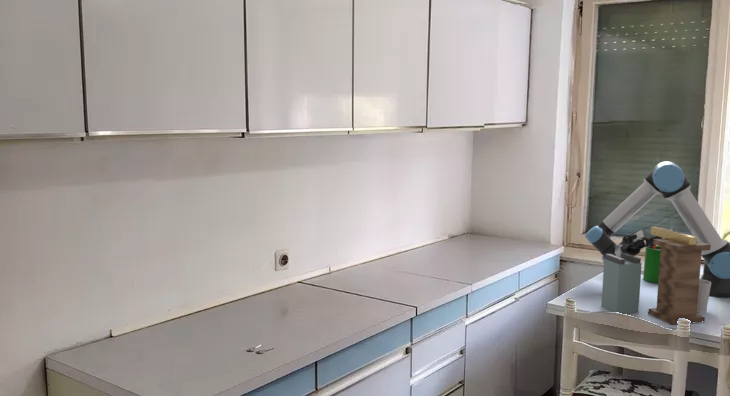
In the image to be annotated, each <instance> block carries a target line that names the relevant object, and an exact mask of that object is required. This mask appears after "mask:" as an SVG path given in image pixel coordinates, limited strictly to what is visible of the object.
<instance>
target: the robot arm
mask: <svg viewBox="0 0 730 396" xmlns="http://www.w3.org/2000/svg"><path fill="white" fill-rule="evenodd" d="M684 173H685V172H684V170H683V169H682V168H681V167H680V166H679V165H678V164H677V163H675V162H673V161H670V160H669V161H667V160H666V161H661V162H658V163H657V164H656V165H655V166H654V168H653V169H652V170H651V171H650V172H649V174H648V175H646V176H645V178H643V183H642V184H640V185H639V186H638V187H637V188H636V189H635V190H634V191H633V192H631V194H630V195H629V196H628V197H626V198H625V199H624V201H622V202H621V203H620V204H619V205H618V206H617V207H615V208H614V210H613V211H611V213H609V214H608V215H607V216H606V217H605V218H604V219H603V220H602V221H601V222H600V223H598V225H595V226H593V227H592V228H590V229H589V230H588V231H587V232H586V233H585V234H584V237H585V239H587V241H588V242H589V243H590V244H591V245H592V246H593V247H594V248H595V249H596V250H597V251H598V252H599V253H600V254H601V255H602V256H601V260H602V262H603V263H604V259H605V254H612V255H615V256H617V257H620V258H621V253H627V254H630V255H632V256H635V257H636V256H637V255H639V254H640V252H641V251H642V249H644V248H646V247H647V248H650V247H652V246H654V244H653V239H666V238H662V237H659V236H653V237H649V239H648V237H645V235H644V231H643V229H641V230H638V231H637V232H635V233H633V234H632V235H628V236H623V237H622V240H621V242H620V243H617V244H618V245H616V243H615V242H614V241H613V240H612V238H611V237H612V236H613V235H614V234H615V233H616V232H617V231H618V230H620V228H622V226H624V225H625V224H626V223H627V222H628V221H629V220H631V218H633V217H634V216H635V215H636V214H637V213H638V212H640V210H641V209H642V208H643V207H645V206H646V205H647V204H648V203H649V202H650V201H651V200H652V199H654V197H656V196H657V195H662V197H663V198H664V200H668V201H670V203H672V205H673V207H674V209H675V210H676V211H677V213H678V214H679V216H680V218H681V219H682V221H683V223H684V224H685V226H686V227H687V228H688V230H689V232H690V233H691V236H695V237H697V240H696V241H698V242H702V243H706V244H709V245H711V247H710V250H703V251H702V253H701V258H702V259H703V271H702V275H701V277H700V279H703V280H707V281H710V282H711V287H710V293H709V296H712V297H719V298H730V241H728V240H727V239H723V238H721V236H720V234H719V233H718V231H717V230H716V228H715V227H714V225H713V223H712V222H711V220H710V219H709V218H708V216H707V215H706V212H705V211H704V210H703V208H702V207H701V205H700V204H699V202H698V200H697V199H696V198H695V196H694V195H693V193H692V191H691V187H692V184H691V183H690V181H689V179H688V178H687V176H686V175H685V174H684ZM668 230H672V231H674V230H673V229H672V228H669V229H668ZM644 237H645V238H644Z"/></svg>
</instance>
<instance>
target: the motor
mask: <svg viewBox="0 0 730 396" xmlns="http://www.w3.org/2000/svg"><path fill="white" fill-rule="evenodd" d="M649 238H650V237H649ZM649 238H648V237H647V239H649ZM660 250H661V246H657V245H654V246H652V247H650V248H647V247H645V251H644V264H643V278H642V279H643V280H644V281H645V282H647V283H653V284H658V279H659V265H660Z"/></svg>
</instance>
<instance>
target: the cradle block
mask: <svg viewBox="0 0 730 396" xmlns="http://www.w3.org/2000/svg"><path fill="white" fill-rule="evenodd" d="M641 260H642V259H641V257H638V256H636V255H635V256H632V255H630V254H627V253H621V258H620V257H617V256H615V255H612V254H605V259H604V262H603V271H602V274H603V275H602V290H601V291H602V292H601V306H600V307H601V308H603V309H605V310H607V311H609V312H611V313H613V312H619V313H625V314H637V312H638V313H639V310H640V309H639V307H640V295H641V294H640V293H641V292H640V291H641V279H642V277H641V276H642V264H643V263H641V262H642V261H641Z"/></svg>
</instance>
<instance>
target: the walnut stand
mask: <svg viewBox="0 0 730 396" xmlns="http://www.w3.org/2000/svg"><path fill="white" fill-rule="evenodd" d="M653 244H654V245H656V246H661V250H660V265H659V279H658V283H657V295H656V297H657V298H656V307H655V308H654V307H653V308H648V313H649V315H650V314H651V315H650V316H652V317H654V318H657V319H659V320H661V321H664V322H666V323H668V324H670V325H672V326H676V325H677V321H678V319H679V318H685V319H688V320H690V321H691V324H694V323H693V322H702V321H705V320H706V317H705V316H703V315H701V314H699V313H697V305H698V292H699V279H701V277H700V275H701V265H702V264H701V263H702V256H701V253H702V251H703V250H710V247H711V245H709V244H706V243H702V242H698V241H696V245H686V244H683V243H679V242H676V241H672V240H669V239H653ZM705 322H706V321H705Z"/></svg>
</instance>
